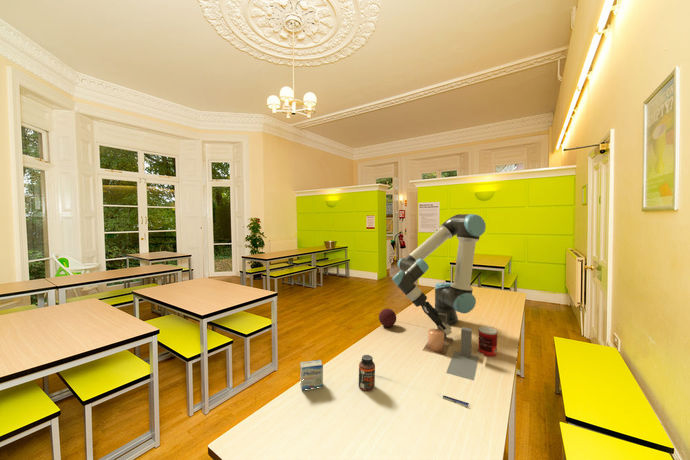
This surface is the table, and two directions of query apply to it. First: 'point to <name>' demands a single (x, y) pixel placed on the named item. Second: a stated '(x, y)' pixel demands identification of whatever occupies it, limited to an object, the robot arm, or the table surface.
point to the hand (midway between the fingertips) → (449, 331)
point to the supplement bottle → (367, 373)
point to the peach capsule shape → (436, 340)
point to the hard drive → (456, 401)
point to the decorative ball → (387, 317)
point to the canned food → (487, 341)
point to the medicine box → (311, 374)
